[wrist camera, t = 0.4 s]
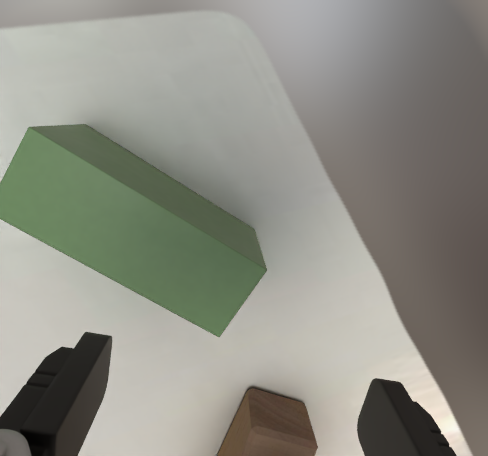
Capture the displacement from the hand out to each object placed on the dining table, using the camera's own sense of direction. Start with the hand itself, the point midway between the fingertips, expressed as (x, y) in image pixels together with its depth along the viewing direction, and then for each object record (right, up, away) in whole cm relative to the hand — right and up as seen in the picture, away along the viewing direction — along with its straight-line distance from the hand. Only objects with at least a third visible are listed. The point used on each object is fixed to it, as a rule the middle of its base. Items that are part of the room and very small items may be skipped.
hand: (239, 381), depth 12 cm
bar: (-6, +6, +16) cm, 19 cm away
